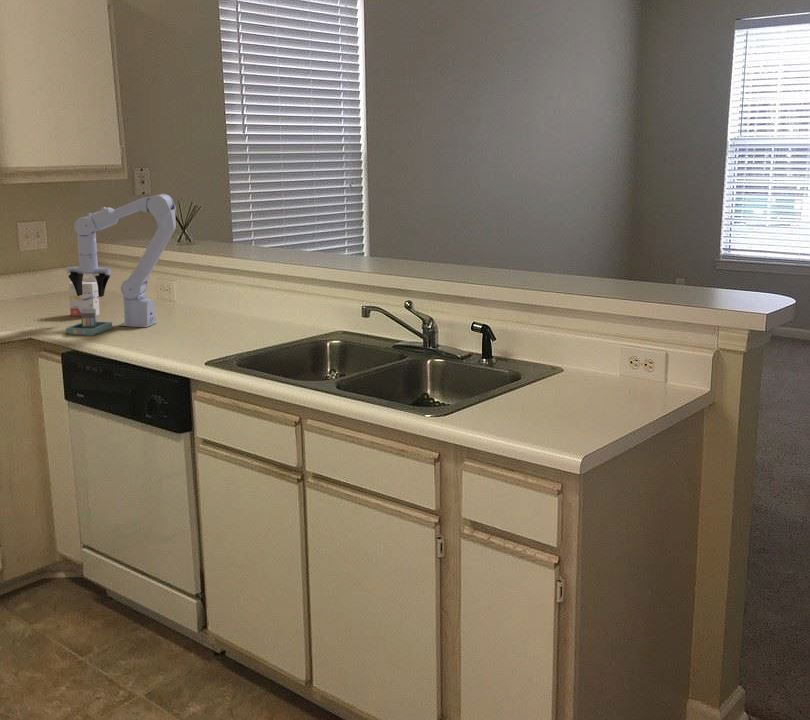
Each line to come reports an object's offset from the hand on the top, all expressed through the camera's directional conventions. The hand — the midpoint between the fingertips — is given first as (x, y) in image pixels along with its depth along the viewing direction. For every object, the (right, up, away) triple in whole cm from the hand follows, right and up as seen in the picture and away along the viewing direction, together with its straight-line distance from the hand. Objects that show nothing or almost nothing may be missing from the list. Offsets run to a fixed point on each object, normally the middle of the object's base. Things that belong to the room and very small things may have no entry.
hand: (90, 295), depth 297 cm
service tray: (+3, -12, -9) cm, 15 cm away
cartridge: (+3, -11, -9) cm, 15 cm away
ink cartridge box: (-7, -6, +17) cm, 19 cm away
